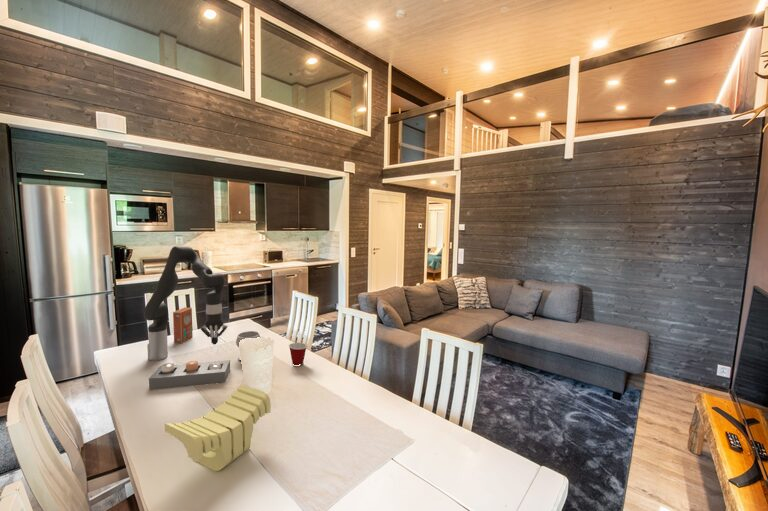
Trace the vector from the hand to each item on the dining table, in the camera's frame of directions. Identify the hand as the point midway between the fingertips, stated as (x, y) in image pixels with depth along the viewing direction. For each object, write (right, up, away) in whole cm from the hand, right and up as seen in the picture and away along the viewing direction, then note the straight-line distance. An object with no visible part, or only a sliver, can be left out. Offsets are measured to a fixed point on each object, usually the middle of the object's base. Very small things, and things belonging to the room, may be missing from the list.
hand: (214, 343), depth 174 cm
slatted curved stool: (+31, -25, -55) cm, 68 cm away
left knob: (-22, -15, -5) cm, 26 cm away
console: (-11, -19, -1) cm, 22 cm away
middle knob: (-11, -15, -2) cm, 18 cm away
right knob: (0, -17, +2) cm, 17 cm away
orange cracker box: (-50, -12, +55) cm, 75 cm away
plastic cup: (+39, -18, +20) cm, 48 cm away
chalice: (+7, -16, +28) cm, 33 cm away
